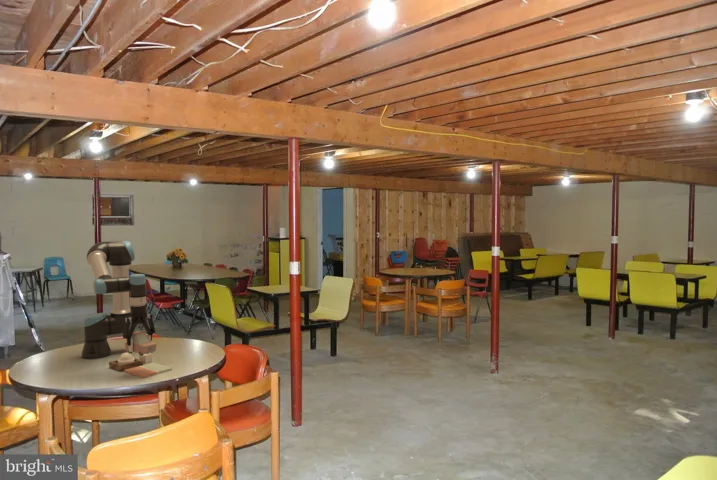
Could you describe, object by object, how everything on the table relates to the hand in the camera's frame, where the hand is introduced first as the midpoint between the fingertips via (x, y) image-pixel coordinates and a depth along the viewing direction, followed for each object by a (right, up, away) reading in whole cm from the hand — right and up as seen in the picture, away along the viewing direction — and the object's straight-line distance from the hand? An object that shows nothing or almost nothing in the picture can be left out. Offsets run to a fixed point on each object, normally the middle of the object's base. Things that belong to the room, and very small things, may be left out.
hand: (139, 349), depth 273 cm
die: (-5, -11, +20) cm, 23 cm away
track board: (+3, -12, +4) cm, 13 cm away
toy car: (+1, -2, -1) cm, 2 cm away
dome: (-12, -10, +11) cm, 19 cm away
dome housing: (-12, -11, +12) cm, 20 cm away
